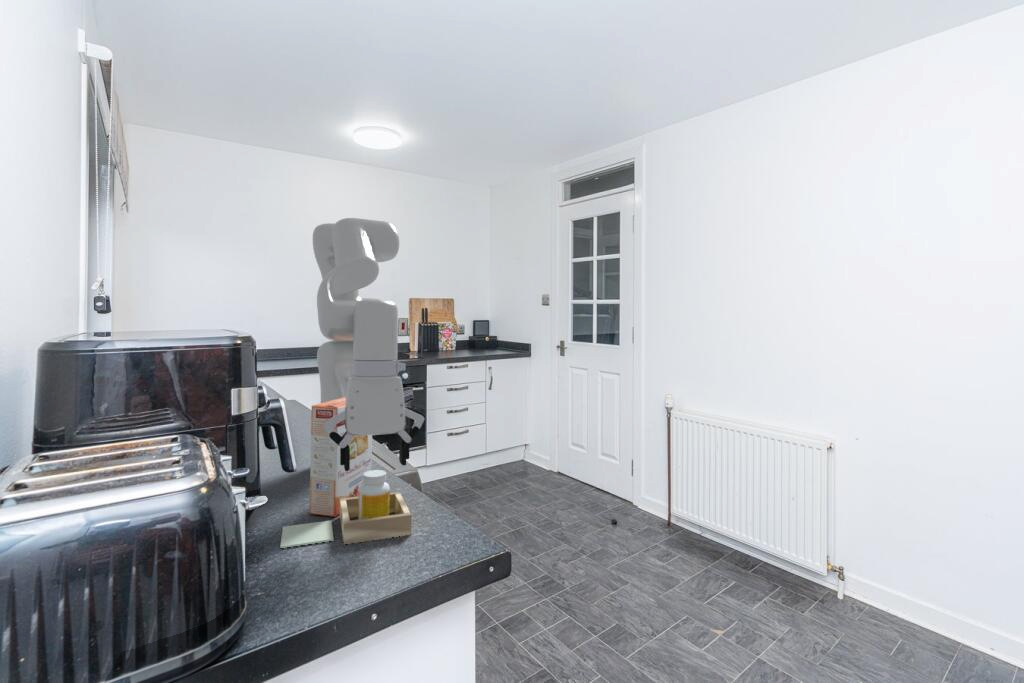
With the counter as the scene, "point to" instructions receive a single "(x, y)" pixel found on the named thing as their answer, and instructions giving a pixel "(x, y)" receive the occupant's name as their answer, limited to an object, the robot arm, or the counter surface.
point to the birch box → (374, 521)
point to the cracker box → (334, 461)
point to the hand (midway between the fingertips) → (375, 466)
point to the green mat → (307, 534)
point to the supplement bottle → (374, 495)
